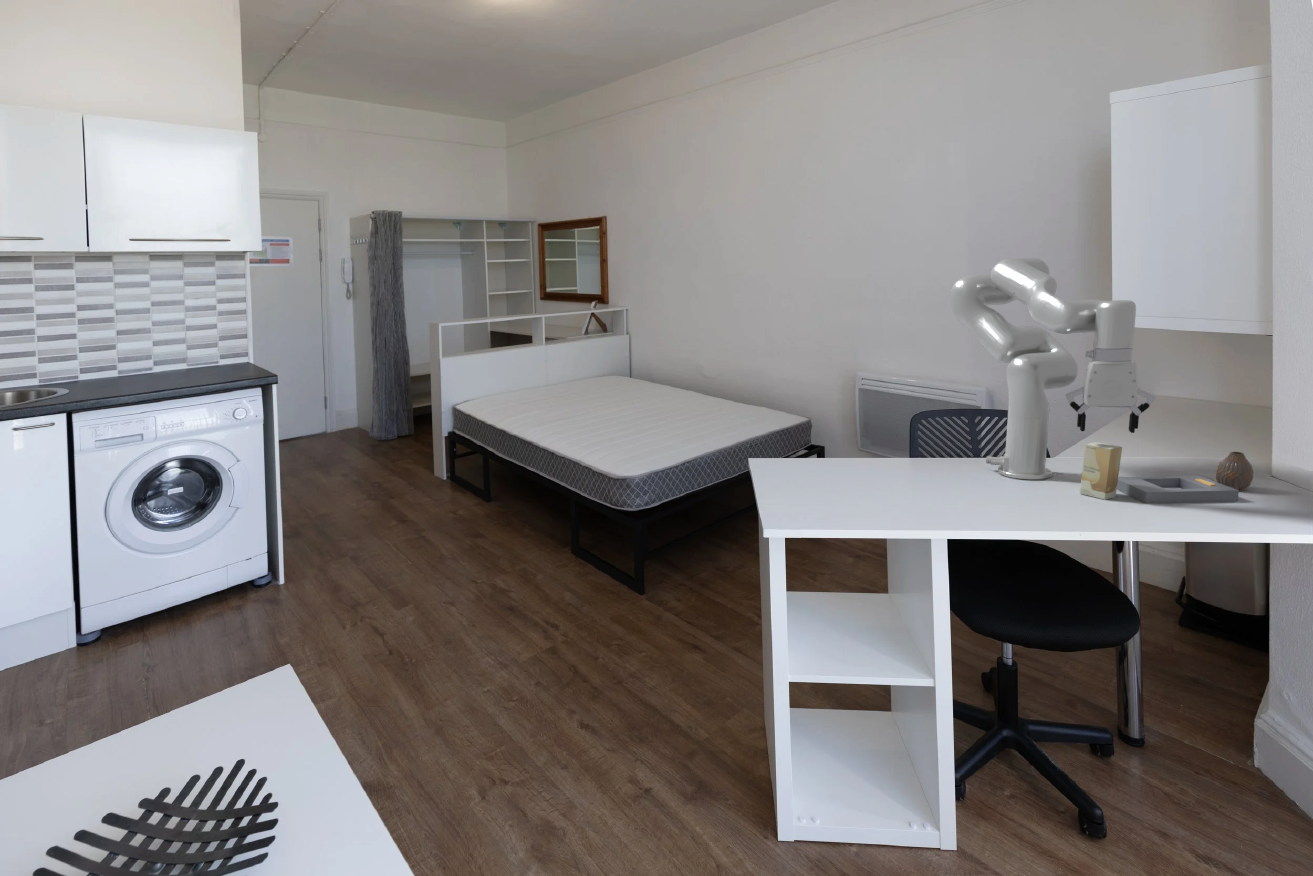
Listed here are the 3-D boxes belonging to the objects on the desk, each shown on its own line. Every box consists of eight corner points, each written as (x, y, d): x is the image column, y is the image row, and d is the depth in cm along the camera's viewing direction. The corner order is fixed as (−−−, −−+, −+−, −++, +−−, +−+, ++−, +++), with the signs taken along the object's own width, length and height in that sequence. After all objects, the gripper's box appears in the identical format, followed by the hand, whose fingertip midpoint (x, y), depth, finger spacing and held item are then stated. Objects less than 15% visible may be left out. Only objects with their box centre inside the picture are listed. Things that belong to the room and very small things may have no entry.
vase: (1221, 491, 166) (1225, 455, 165) (1209, 484, 173) (1213, 448, 171) (1256, 493, 164) (1262, 456, 162) (1243, 485, 170) (1248, 450, 169)
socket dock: (1145, 503, 160) (1147, 491, 159) (1111, 487, 173) (1112, 476, 172) (1237, 501, 159) (1239, 489, 159) (1196, 485, 172) (1197, 474, 171)
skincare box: (1078, 494, 168) (1083, 443, 166) (1090, 491, 170) (1094, 441, 168) (1106, 500, 163) (1111, 448, 160) (1117, 497, 165) (1122, 446, 162)
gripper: (1069, 357, 160) (1064, 432, 163) (1162, 357, 153) (1155, 435, 156) (1066, 355, 167) (1062, 427, 170) (1155, 354, 159) (1148, 429, 163)
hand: (1106, 431), depth 163 cm, fingers open, 9 cm apart
